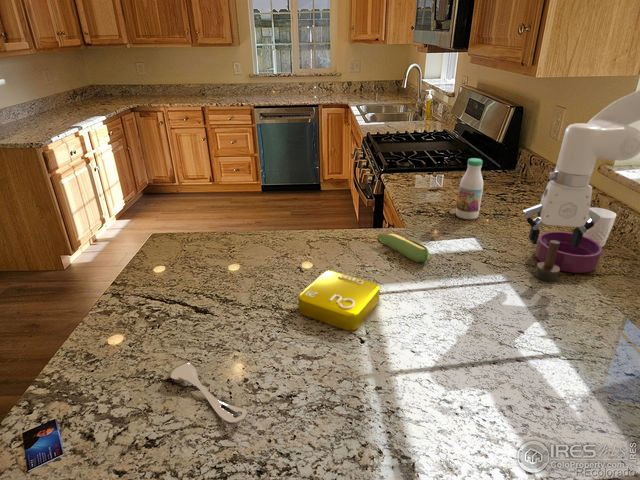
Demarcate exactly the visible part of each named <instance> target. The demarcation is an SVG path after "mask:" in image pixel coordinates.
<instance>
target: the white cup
mask: <svg viewBox="0 0 640 480" xmlns="http://www.w3.org/2000/svg"><path fill="white" fill-rule="evenodd" d="M590 210H592V211H593V212H595V213H597V214H598V215H599V216H600V217H601V218H600V219H599V220H598V221H597V222H596V223H595V224H594V226H593V227H591V228H590V229H588V230H587V232H586V233H583V236H585V237H587V238H590V239H592V240H594V241H595V242H597V243H598V244H599V245H600V246H601V247H602V248H603V247H605V245H606V243H607V240H608V238H609V236H610V233H611V231H612V229H613V226H614V224H615V221H616V219H617V213H616V212H614V211H612V210H611V209H610V210H609V209H606V208H602V207H590ZM590 218H591V217H590V216H589V215H588V218H587V221H588V220H589V219H590Z"/></svg>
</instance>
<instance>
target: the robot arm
mask: <svg viewBox="0 0 640 480" xmlns="http://www.w3.org/2000/svg"><path fill="white" fill-rule="evenodd" d="M639 121H640V89H638V90H636V91H633V92H631V93H630V94H627V95H625V96H622V97H620V98H618V99H616V100H615V101H613V102H611V103H609V105H607V106H605V107H604V108H603V109H601V110H600V111H598V113H597V114H595V115H594V116H593V117H592V118H591V119H590V120H588V121H587V123H583V122H581V123H579V122H578V123H577V122H576V123H571V124H569V125H568V126H567V127H566V128H565V131H564V135H563V139H562V142H561V146H560V150H559V153H558V156H557V157H558V158H557V161H556V164H555V168H554V169H553V171H549V172H547V178H548V179H550V180H549V181H548V183H547V185H546V187H545V189H544V192H543V193H542V196H541V199H540V202H539V204H536V205H534V206H531V207H528V208H526V209H523V210H522V211H523V215H524V218H525V220H526V222H527V223H528V224H529V226H530V230H529V234H528V240H529V241H530V242H531V244H532V245H534V246H535V245H536V246H537V242H538V238H539V236H540V232H541V230H540V228H541V227H542V226H544V225H546V226H554V227H568V228H569V227H570V228H573V231H572V233H573V234H572V237H571V240H570V243H571V244H572V245H573V246H574V247H575V248H577V247H578V245H579V243H581V240H582V236H583V233H586V232H587V230H588V229H590V228H591V227H593V226H594V224H595V223H596V222H597V221H598V220H599V219H600V218H601V217H600V216H599V215H598V214H597V213H595V212H593V211H592V210H590V208H591V204H592V194H593V186H592V185H590V182H591V178H592V175H593V172H594V168H595V165H596V163H597V160H598V159H605V160H611V161H627V160H630V159H633V158H635V157H637V156H638V155H639V154H640V130H639V129H638V128H636V127H634V126H631V125H632V124H633V123H636V122H639ZM536 213H537V214H536ZM533 214H536V216H537V217H536V218H534V219H533V218H532V215H533ZM588 215H589V216H590V217H591V218H590V219H589V220H588V221H587V218H588Z"/></svg>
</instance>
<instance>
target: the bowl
mask: <svg viewBox="0 0 640 480" xmlns="http://www.w3.org/2000/svg"><path fill="white" fill-rule="evenodd" d="M572 234H573V232H568V231H560V230H559V231H556V230H554V231H546V232H542V233H541V234H539V237H538V241H537V244H536V246H535V250H534V257H536V259H537V260H538V261H539V262H545V259H546V255H547V251H548V247H549V244H550V241H551V240H556V241H559V242H560V244H559V248H558V252H557V256H556V259H555V263H554V264H555V265H557V266H558V267H559V268H560V271H563V272H568V273H576V274H584V273H590V272H592V271H595V270H596V269H597V268H598V266H599V263H600V260H601V256H602V254H603V247H601V246H600V245H599V244H598V243H597V242H595V241H594V240H592V239H590V238H587V237H585V236H582V240H581V243H579V245H578V247H577V248H575V247H574V246H573V245H572V244H571V243H570V240H571V237H572Z"/></svg>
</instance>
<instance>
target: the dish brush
mask: <svg viewBox="0 0 640 480" xmlns="http://www.w3.org/2000/svg"><path fill="white" fill-rule="evenodd" d="M559 244H560V242H559V241H556V240H551V241H550V244H549V247H548V251H547V255H546V259H545V262H541V261H539V262H537V264H536V271H535V273H534V275H535V277H536V278H537V279H539V280H541V281H543V282H548V283H549V282H550V283H551V282H556V281H557V278H558V275H559V273H560V271H561V270H560V268H559V267H558V266H557V265H555V264H554V263H555V259H556V256H557V252H558V248H559Z"/></svg>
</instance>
